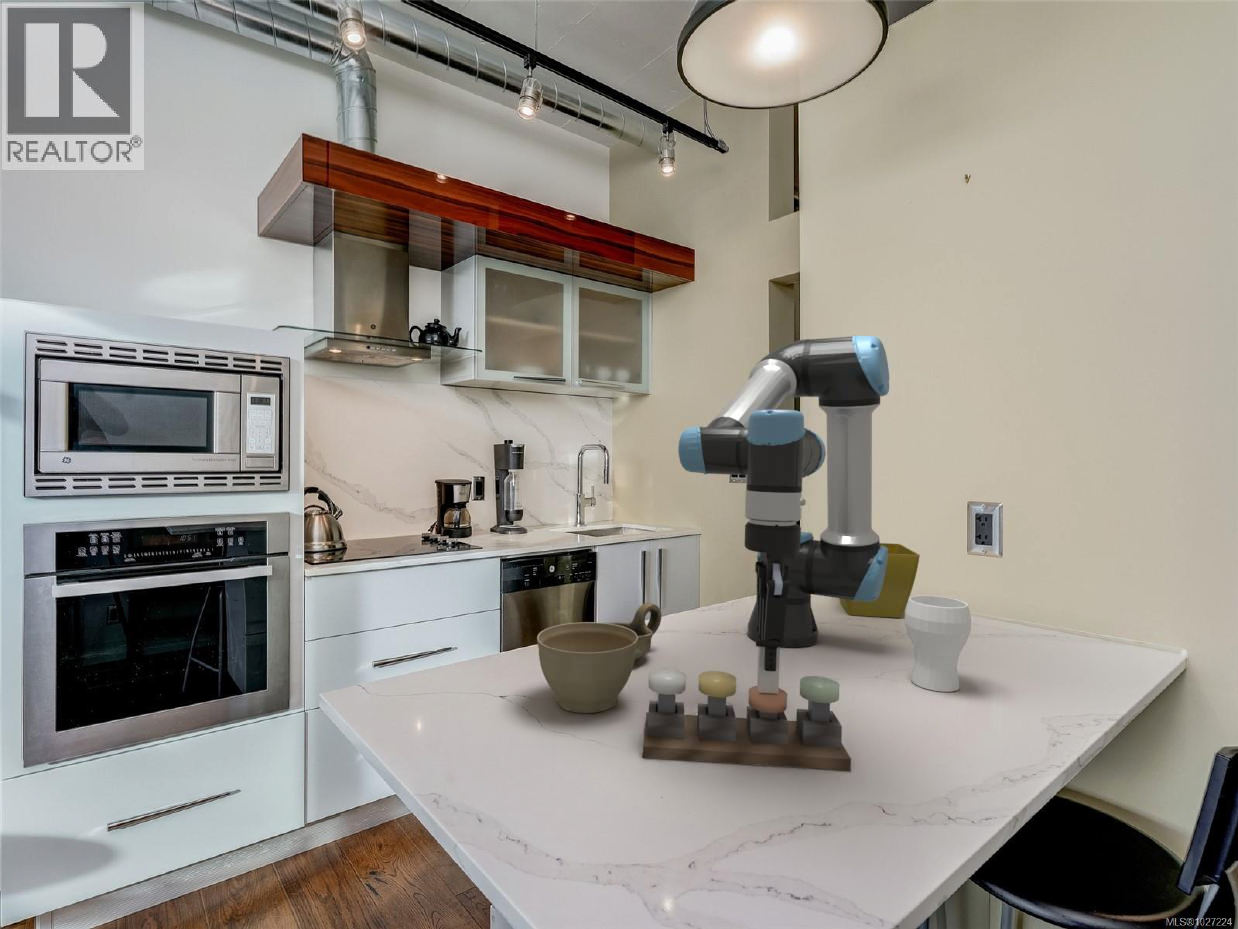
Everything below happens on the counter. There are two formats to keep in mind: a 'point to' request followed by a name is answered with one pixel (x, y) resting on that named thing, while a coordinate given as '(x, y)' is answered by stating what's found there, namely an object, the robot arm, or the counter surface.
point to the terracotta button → (767, 703)
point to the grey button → (667, 687)
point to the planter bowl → (587, 663)
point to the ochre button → (717, 690)
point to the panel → (744, 738)
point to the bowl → (644, 627)
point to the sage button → (819, 696)
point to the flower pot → (890, 585)
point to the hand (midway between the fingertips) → (767, 691)
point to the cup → (937, 639)
